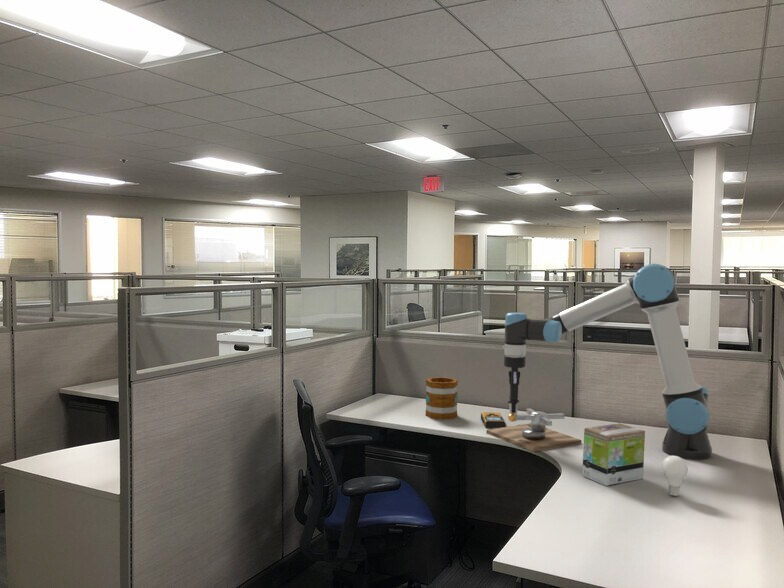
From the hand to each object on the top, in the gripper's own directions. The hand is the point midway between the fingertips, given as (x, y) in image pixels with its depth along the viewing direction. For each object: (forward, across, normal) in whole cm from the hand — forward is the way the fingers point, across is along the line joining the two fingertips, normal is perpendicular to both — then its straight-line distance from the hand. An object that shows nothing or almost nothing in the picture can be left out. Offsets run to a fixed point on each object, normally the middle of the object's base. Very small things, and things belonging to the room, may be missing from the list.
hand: (513, 420), depth 216 cm
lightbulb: (+6, +47, +41) cm, 63 cm away
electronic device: (+8, -22, -7) cm, 25 cm away
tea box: (+7, +35, +28) cm, 45 cm away
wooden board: (+7, -3, +7) cm, 11 cm away
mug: (+8, -34, -28) cm, 45 cm away
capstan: (+5, -1, +9) cm, 11 cm away
